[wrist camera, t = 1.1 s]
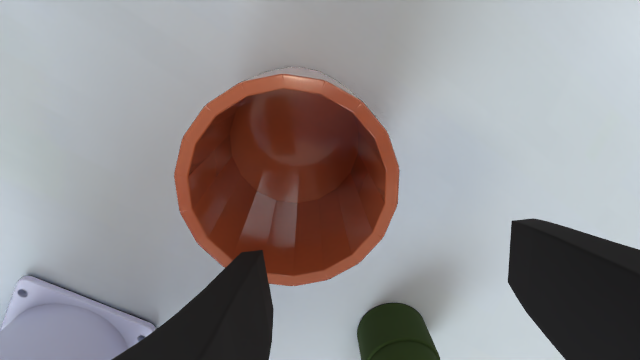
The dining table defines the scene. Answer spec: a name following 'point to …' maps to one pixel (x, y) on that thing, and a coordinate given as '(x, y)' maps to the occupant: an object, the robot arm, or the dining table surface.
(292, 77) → the cup
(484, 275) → the dining table surface
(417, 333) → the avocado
